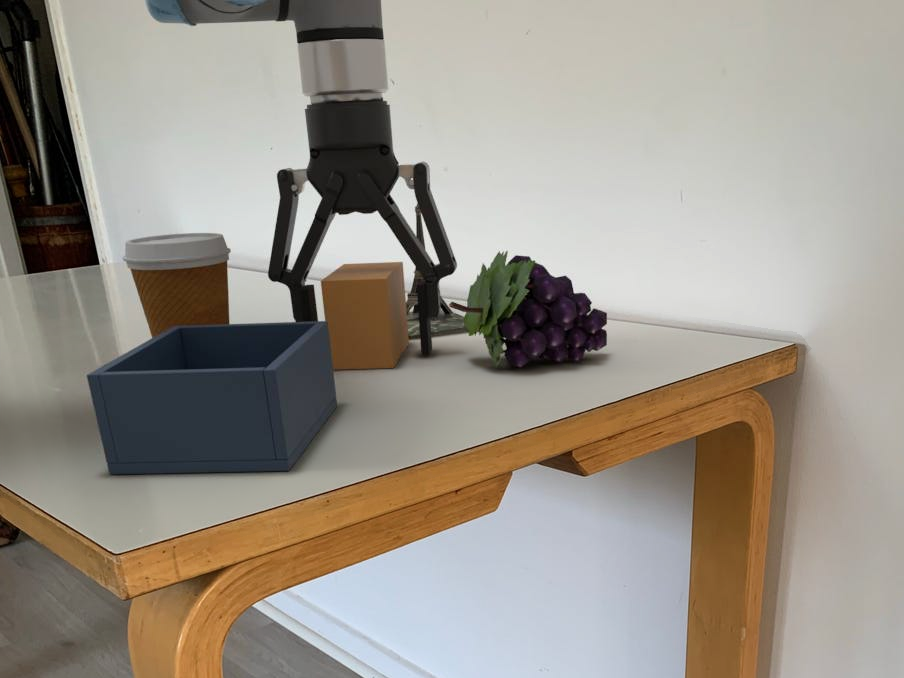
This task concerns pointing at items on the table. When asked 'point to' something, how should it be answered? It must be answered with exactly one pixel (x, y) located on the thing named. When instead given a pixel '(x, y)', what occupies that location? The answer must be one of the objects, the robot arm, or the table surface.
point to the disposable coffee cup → (180, 279)
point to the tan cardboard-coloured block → (366, 315)
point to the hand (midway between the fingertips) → (370, 353)
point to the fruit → (531, 313)
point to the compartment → (215, 398)
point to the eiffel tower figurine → (440, 323)
